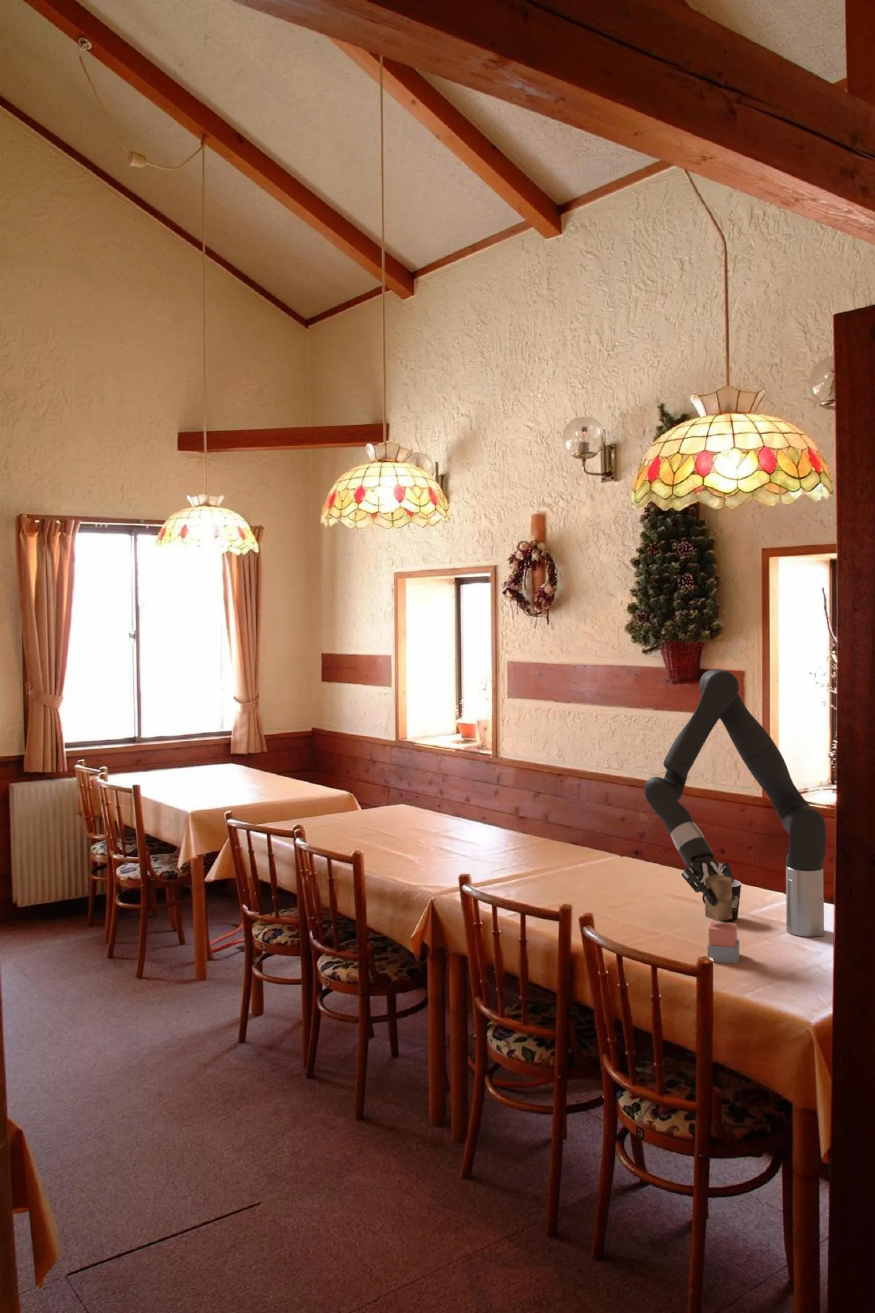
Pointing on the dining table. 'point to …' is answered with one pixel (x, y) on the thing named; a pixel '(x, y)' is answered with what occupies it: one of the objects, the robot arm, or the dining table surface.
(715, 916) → the pillar brick
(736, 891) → the coffee mug
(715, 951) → the tower bottom brick
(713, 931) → the tower brick
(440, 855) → the dining table surface
